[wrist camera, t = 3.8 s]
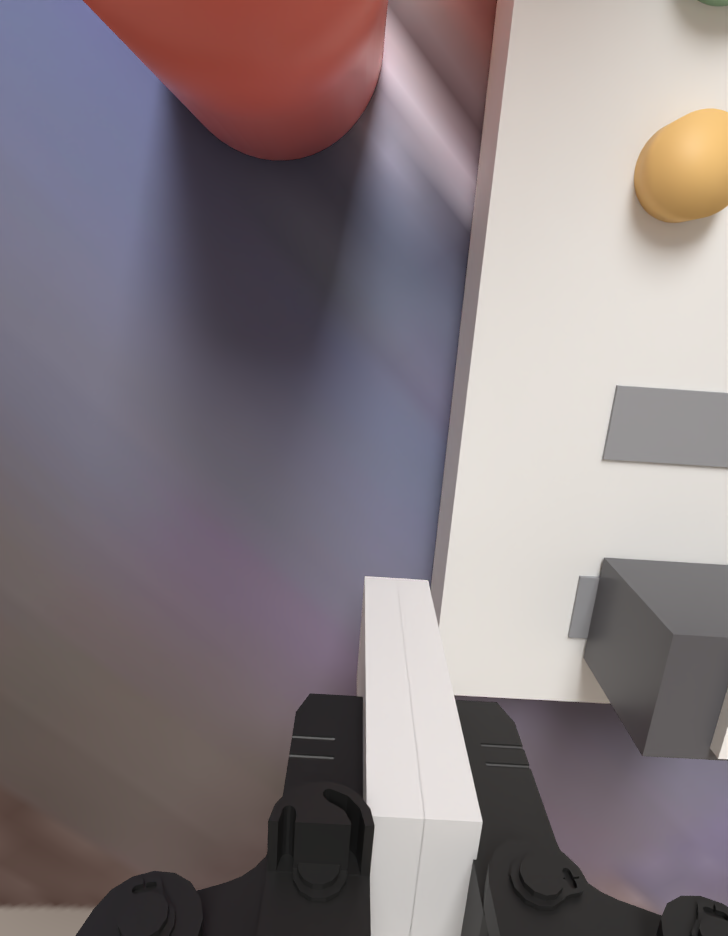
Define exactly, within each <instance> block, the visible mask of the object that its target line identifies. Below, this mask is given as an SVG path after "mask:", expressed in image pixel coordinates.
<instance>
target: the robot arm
mask: <svg viewBox="0 0 728 936" xmlns="http://www.w3.org/2000/svg"><path fill="white" fill-rule="evenodd" d="M76 936H728V907H727V906H725V905H724V904H722V903H719V902H716V901H713V900H710V899H707V898H705V897H702V896H680V897H678V898H676V899H674V900H673V901H671V902H669V903H667V905H666V908H665V910H664V912H663V915H662V916H661V915H658V914H655V913H653V912H650V911H647V910H644V909H641V908H639V907H636V906H633V905H630V904H628V903H625V902H622V901H619V900H617V899H615V898H613V897H610V896H608V895H606V894H604V893H602V892H600V891H599V890H597V889H596V888H594V887H593V886H591V885H590V884H588V882H587V881H586V879H585V877H584V875H583V874H582V872H581V870H580V868H579V867H578V866H577V865H576V864H575V863H573V862H572V861H571V860H570V859H569V858H568V857H567V856H566V855H565V854H564V853H563V852H561V851H560V849H559V847H558V845H557V842H556V840H555V837H554V834H553V831H552V828H551V825H550V823H549V820H548V817H547V814H546V811H545V808H544V805H543V803H542V800H541V797H540V794H539V791H538V788H537V786H536V783H535V780H534V777H533V774H532V771H531V769H529V763H528V760H527V757H526V754H525V751H524V750H523V749H522V743H521V740H520V737H519V734H518V731H517V729H516V726H515V723H514V722H513V720H512V719H511V718H510V717H509V716H508V715H507V714H506V712H505V711H504V710H503V709H502V708H501V707H500V706H499V705H498V703H497V702H479V701H462V700H455V697H454V693H453V688H452V684H451V680H450V675H449V671H448V666H447V662H446V657H445V653H444V649H443V644H442V640H441V635H440V631H439V627H438V622H437V618H436V613H435V609H434V604H433V600H432V596H431V591H430V587H429V582H428V580H416V579H400V578H384V577H368V576H365V580H364V593H363V605H362V618H361V631H360V644H359V656H358V669H357V696H343V695H326V694H309V696H308V697H307V698H306V700H305V701H304V702H303V704H302V705H301V706H300V708H299V709H298V710H297V711H296V716H295V722H294V728H293V735H292V741H291V748H290V755H289V760H288V767H287V773H286V779H285V786H284V792H283V797H282V798H281V799H280V800H279V801H278V802H277V803H276V804H275V806H274V808H273V811H272V813H271V816H270V818H269V820H268V851H267V855H266V857H265V858H264V859H263V860H262V861H261V862H260V863H259V864H258V865H257V866H256V867H255V868H254V869H252V870H251V871H249V872H248V873H246V874H245V875H243V876H242V877H239V878H237V879H234V880H232V881H229V882H227V883H223V884H220V885H216V886H212V887H209V888H205V889H202V890H198V891H196V890H195V888H194V887H193V885H192V883H191V882H190V881H188V880H186V879H184V878H182V877H181V876H179V875H177V874H175V873H170V872H159V871H153V872H149V873H145V874H141V875H138V876H134V877H131V878H130V879H128V880H126V881H125V882H123V883H122V884H120V885H118V886H117V887H115V888H113V889H112V890H111V891H110V892H109V893H108V894H107V895H106V896H105V897H104V898H103V899H102V901H101V902H100V903H99V904H98V905H97V906H96V907H95V908H94V909H93V911H92V912H91V914H90V915H89V917H88V918H87V920H86V921H85V923H84V924H83V926H82V927H81V929H80V930H79V931H78V933H77V934H76Z"/></svg>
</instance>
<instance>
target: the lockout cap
mask: <svg viewBox="0 0 728 936" xmlns="http://www.w3.org/2000/svg"><path fill="white" fill-rule="evenodd" d="M83 1H84V2H85V3H86V4H87V5H88V6H89V7H90V8H91V9H92V10H93V11H94V12H95V13H96V14H97V15H98V16H99V17H100V19H101V20H102V21H103V22H104V23H105V24H106V25H107V26H108V27H109V28H110V29H111V30H112V31H113V32H114V33H115V34H116V35H117V36H118V37H119V38H120V39H121V40H122V41H123V42H124V43H125V44H126V45H127V46H128V47H129V49H130V50H131V51H132V52H133V53H134V54H135V55H136V56H137V57H138V58H139V59H140V60H141V61H142V62H143V63H144V64H145V65H146V66H147V67H148V68H149V69H150V70H151V71H152V72H153V73H154V74H155V75H156V76H157V77H158V78H159V80H160V81H161V82H162V83H163V84H164V85H165V86H166V87H167V88H168V89H169V90H170V91H171V92H172V93H173V94H174V95H175V96H176V97H177V98H178V99H179V100H180V101H181V102H182V103H183V104H184V105H185V106H186V107H187V108H188V110H189V111H190V112H191V113H192V114H193V115H194V116H195V117H196V118H197V119H198V120H199V121H200V122H201V123H202V124H203V125H204V126H205V127H206V128H207V129H208V130H209V131H210V132H211V133H212V134H213V135H215V136H216V137H217V138H218V139H219V140H221V141H222V142H224V143H225V144H227V145H228V146H230V147H232V148H233V149H235V150H238V151H240V152H242V153H244V154H246V155H250V156H253V157H257V158H260V159H267V160H293V159H300V158H303V157H307V156H310V155H313V154H315V153H317V152H320V151H322V150H324V149H326V148H327V147H329V146H330V145H332V144H333V143H335V142H337V141H338V140H339V139H340V138H341V137H342V136H344V135H345V134H346V133H347V132H348V131H349V130H350V129H351V128H352V126H353V125H354V124H355V123H356V122H357V121H358V119H359V118H360V116H361V115H362V113H363V112H364V110H365V109H366V107H367V105H368V103H369V101H370V99H371V97H372V95H373V92H374V89H375V87H376V84H377V81H378V77H379V73H380V69H381V65H382V57H383V48H384V37H385V26H386V16H387V5H388V0H83Z"/></svg>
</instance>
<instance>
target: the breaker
mask: <svg viewBox="0 0 728 936" xmlns="http://www.w3.org/2000/svg"><path fill="white" fill-rule="evenodd" d="M583 658H584V660H585V661H586V663H587V665H588V666H589V668H590V670H591V671H592V673H593V675H594V676H595V678H596V680H597V681H598V683H599V685H600V686H601V688H602V690H603V691H604V693H605V695H606V696H607V698H608V700H609V701H610V703H611V705H612V706H613V708H614V710H615V711H616V713H617V715H618V716H619V718H620V720H621V721H622V723H623V725H624V726H625V728H626V730H627V731H628V733H629V735H630V736H631V738H632V740H633V741H634V743H635V745H636V746H637V748H638V749H639V751H640V753H641V754H642V756H651V757H670V758H689V759H708V760H727V761H728V565H720V564H703V563H687V562H670V561H654V560H637V559H620V558H604V560H603V565H602V570H601V574H600V579H599V584H598V589H597V594H596V599H595V604H594V608H593V613H592V618H591V623H590V628H589V633H588V638H587V642H586V647H585V652H584V657H583Z"/></svg>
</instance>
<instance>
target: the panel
mask: <svg viewBox="0 0 728 936" xmlns="http://www.w3.org/2000/svg"><path fill="white" fill-rule="evenodd" d="M604 558H620V559H637V560H654V561H670V562H687V563H703V564H720V565H728V0H497V6H496V15H495V24H494V33H493V42H492V51H491V60H490V68H489V77H488V86H487V95H486V104H485V113H484V122H483V130H482V139H481V148H480V157H479V166H478V175H477V184H476V192H475V201H474V210H473V219H472V228H471V237H470V246H469V254H468V263H467V272H466V281H465V290H464V299H463V307H462V316H461V325H460V334H459V343H458V352H457V361H456V369H455V378H454V387H453V396H452V405H451V414H450V423H449V431H448V440H447V449H446V458H445V467H444V476H443V485H442V493H441V502H440V511H439V520H438V529H437V538H436V547H435V555H434V564H433V573H432V582H431V596H432V600H433V604H434V609H435V613H436V618H437V622H438V627H439V631H440V635H441V640H442V644H443V649H444V653H445V657H446V662H447V666H448V671H449V675H450V680H451V684H452V688H453V693H454V695H460V696H479V697H497V698H516V699H534V700H553V701H571V702H590V703H608V704H611V703H610V701H609V700H608V698H607V696H606V695H605V693H604V691H603V690H602V688H601V686H600V685H599V683H598V681H597V680H596V678H595V676H594V675H593V673H592V671H591V670H590V668H589V666H588V665H587V663H586V661H585V660H584V658H583V657H584V652H585V647H586V642H587V638H588V633H589V628H590V623H591V618H592V613H593V608H594V604H595V599H596V594H597V589H598V584H599V579H600V574H601V570H602V565H603V560H604Z"/></svg>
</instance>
